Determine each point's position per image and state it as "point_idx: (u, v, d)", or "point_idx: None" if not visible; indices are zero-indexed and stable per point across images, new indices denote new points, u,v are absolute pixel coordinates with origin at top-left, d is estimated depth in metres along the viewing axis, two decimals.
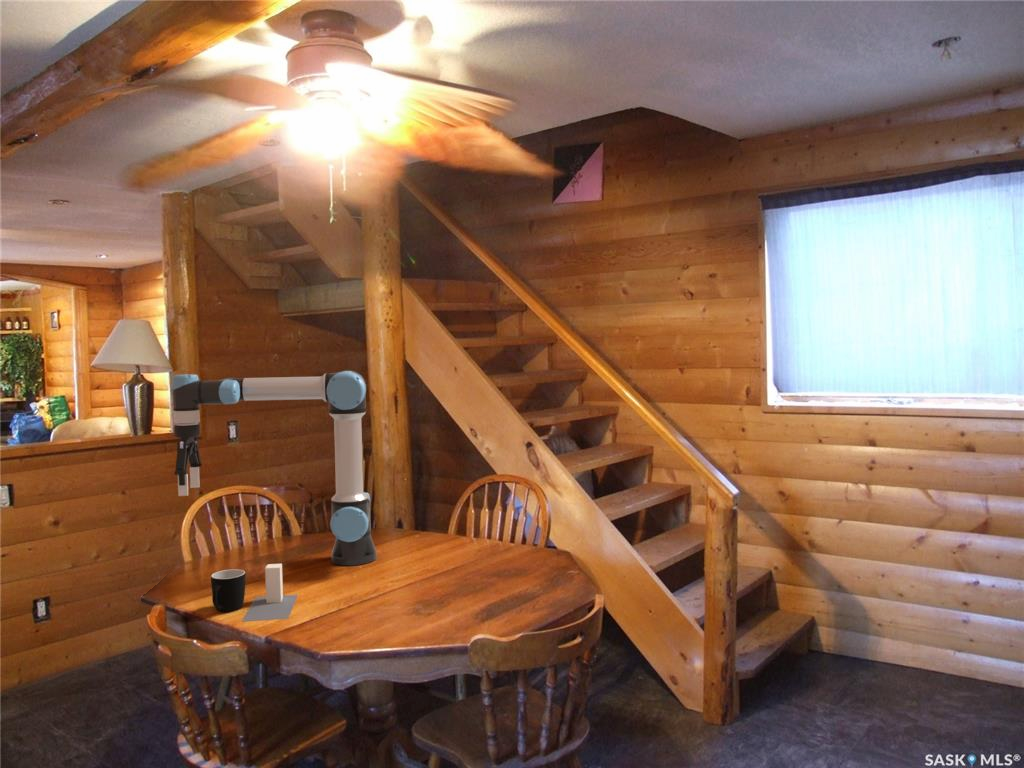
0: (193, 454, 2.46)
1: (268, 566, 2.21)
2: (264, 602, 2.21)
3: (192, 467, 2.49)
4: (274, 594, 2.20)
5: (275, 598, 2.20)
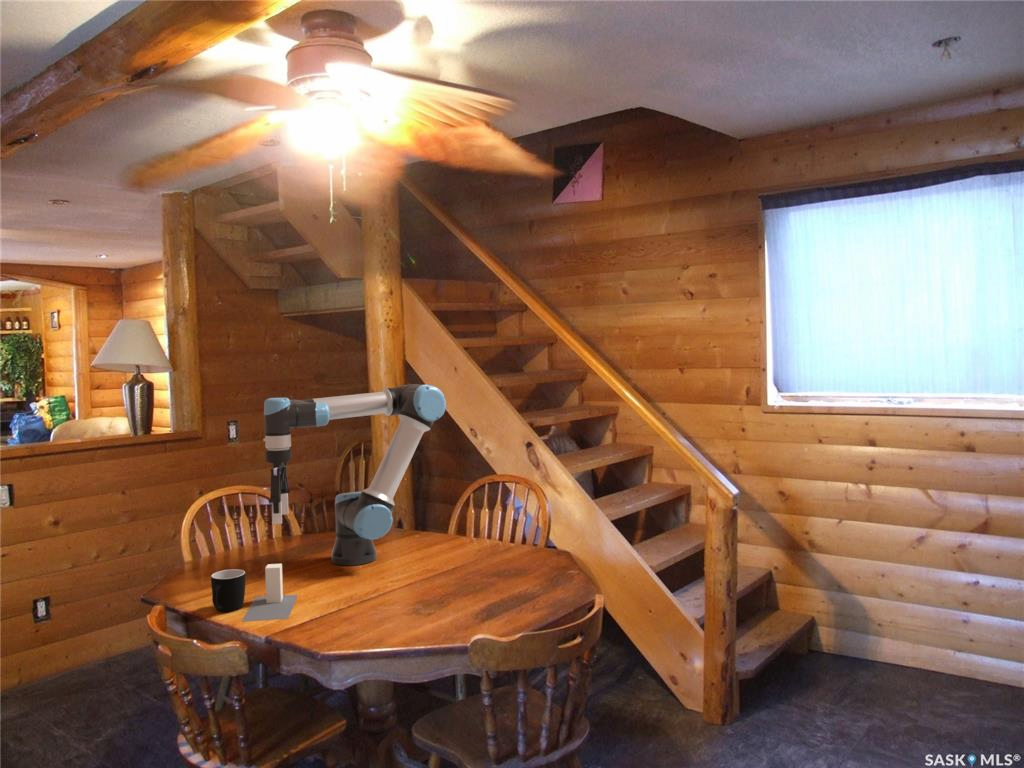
0: None
1: (268, 566, 2.21)
2: (264, 602, 2.21)
3: (281, 493, 2.43)
4: (274, 594, 2.20)
5: (275, 598, 2.20)
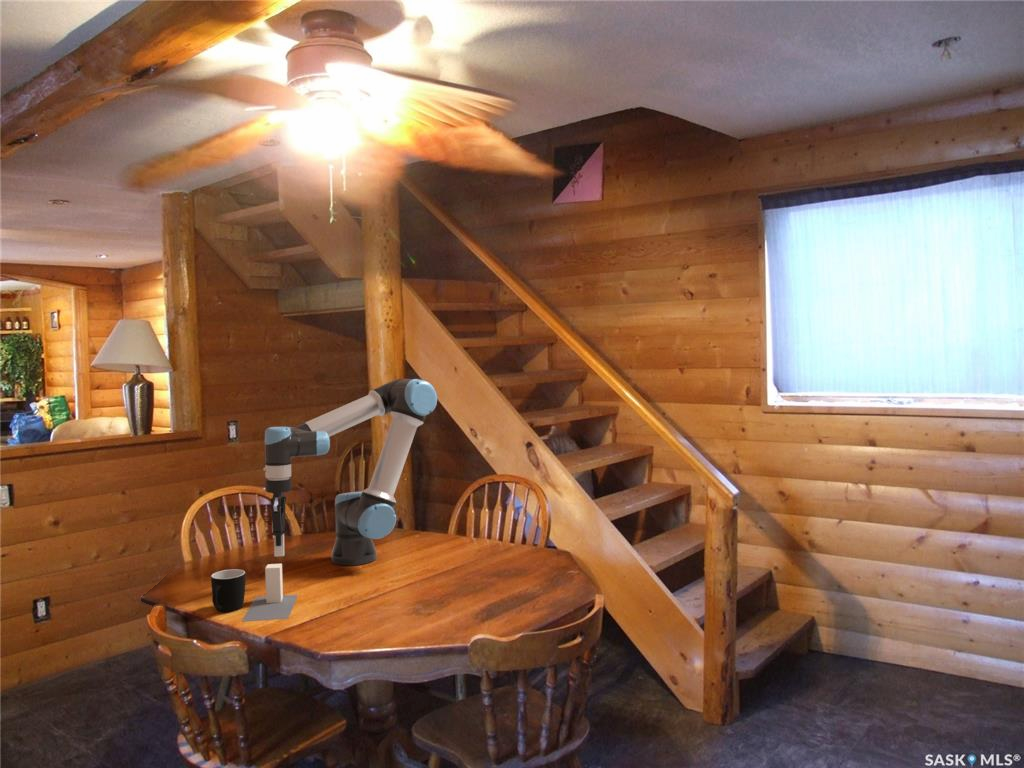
0: None
1: (268, 566, 2.21)
2: (264, 602, 2.21)
3: None
4: (274, 594, 2.20)
5: (275, 598, 2.20)
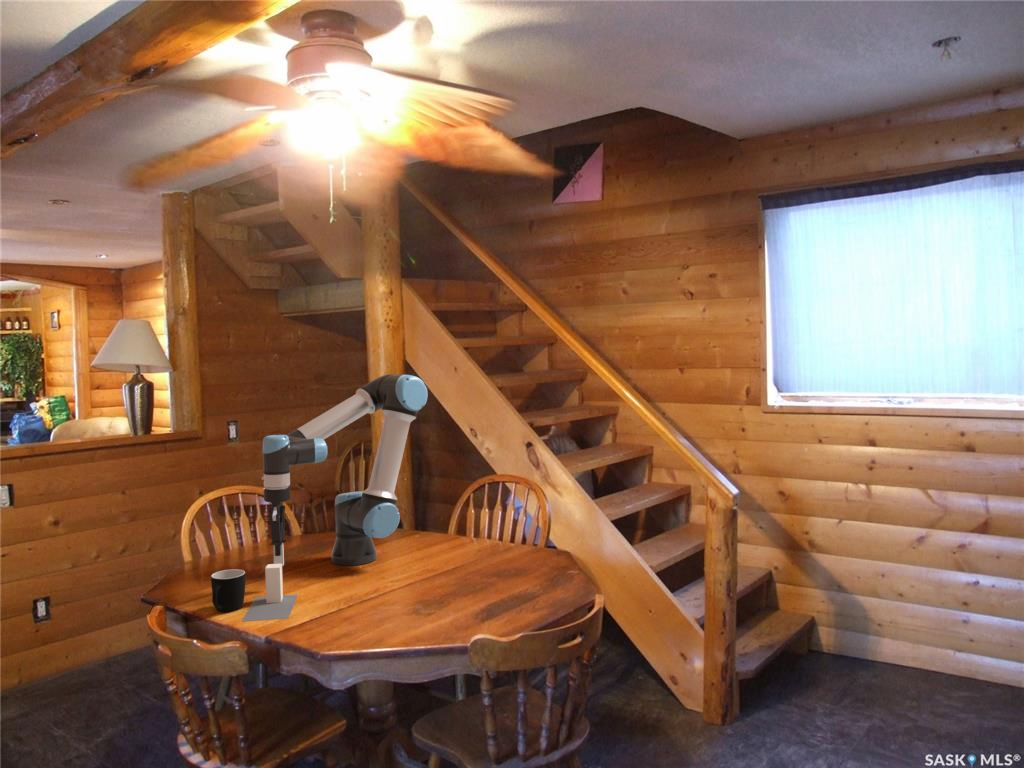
0: None
1: (268, 566, 2.21)
2: (264, 602, 2.21)
3: None
4: (274, 594, 2.20)
5: (275, 598, 2.20)
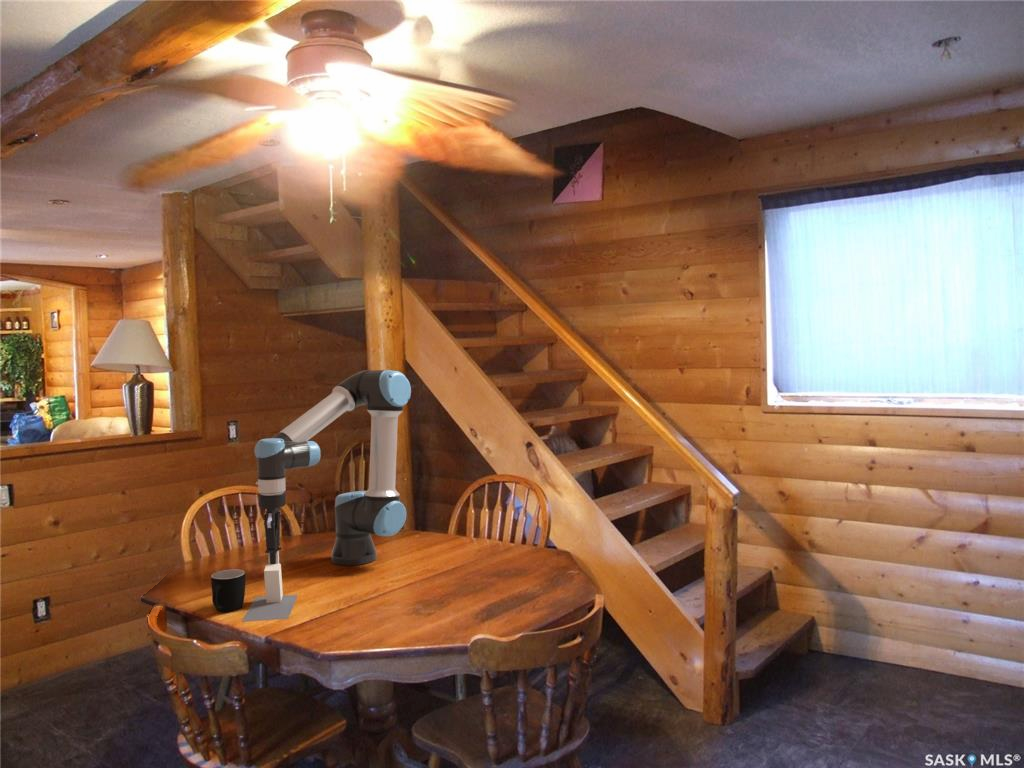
0: None
1: (267, 567, 2.19)
2: (264, 602, 2.21)
3: None
4: (274, 595, 2.20)
5: (275, 599, 2.20)
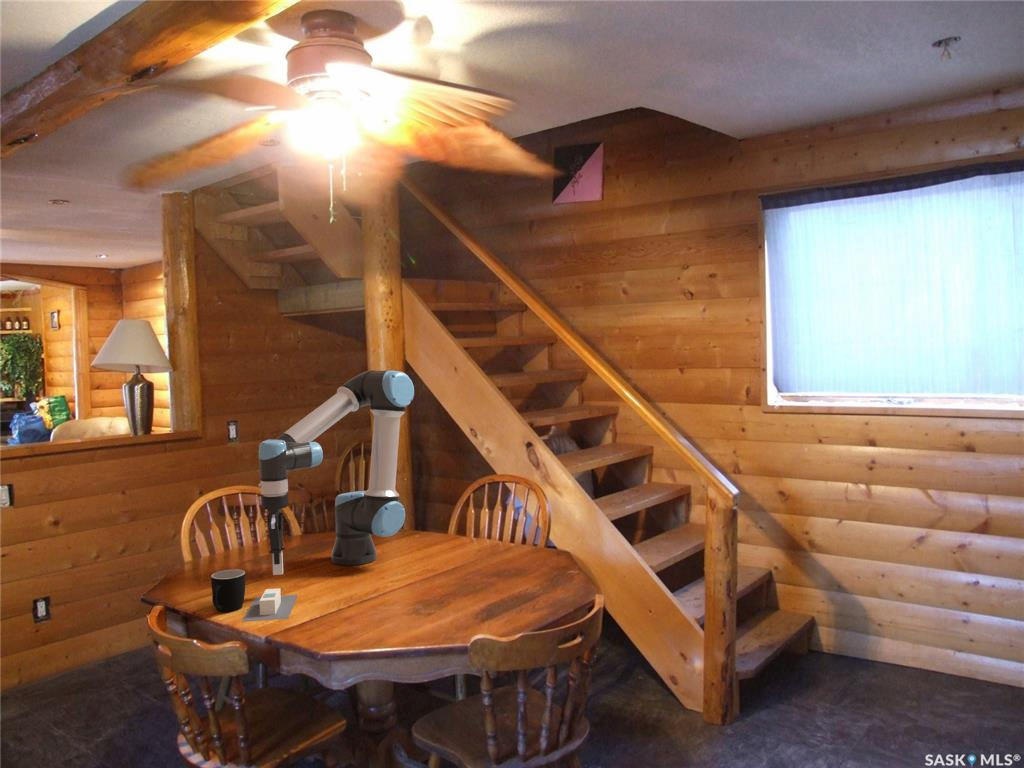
0: None
1: (262, 608, 2.10)
2: None
3: None
4: None
5: None
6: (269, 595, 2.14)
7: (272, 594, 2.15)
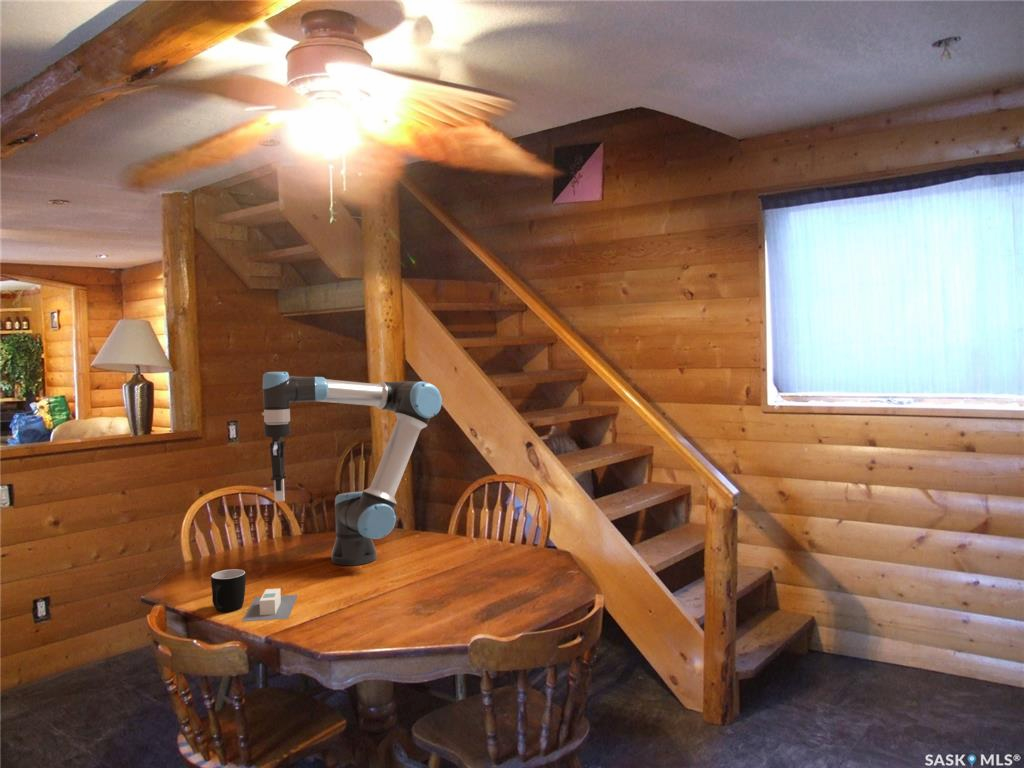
0: None
1: (262, 608, 2.10)
2: None
3: None
4: None
5: None
6: (269, 595, 2.14)
7: (272, 594, 2.15)
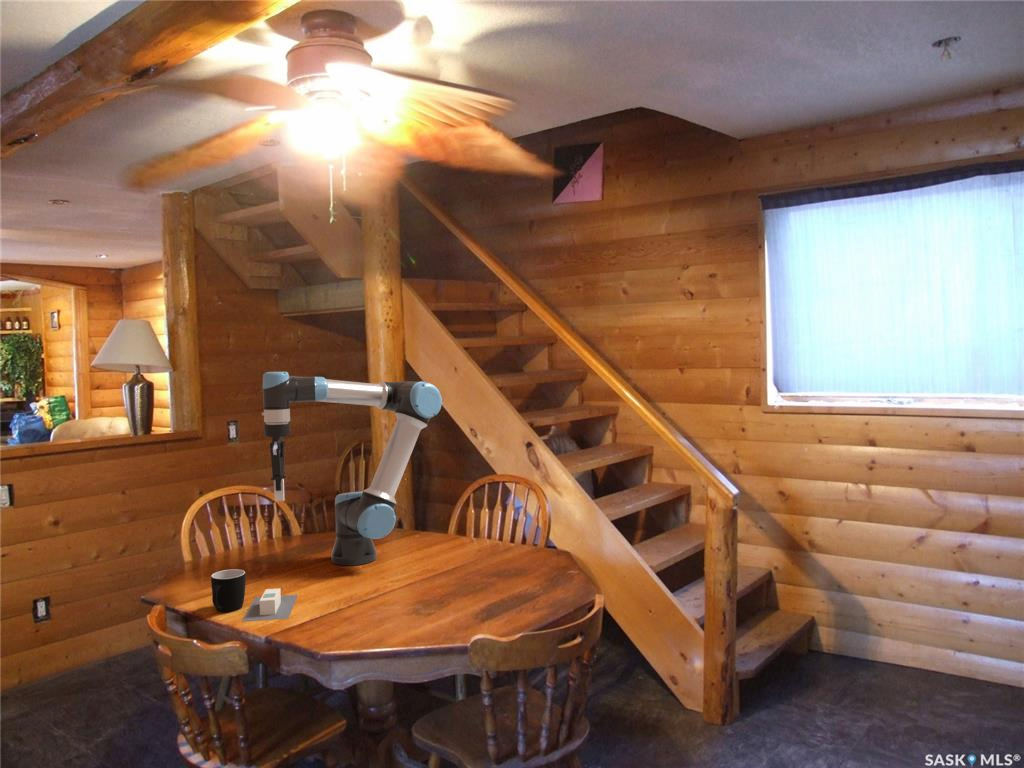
0: None
1: (262, 608, 2.10)
2: None
3: None
4: None
5: None
6: (269, 595, 2.14)
7: (272, 594, 2.15)
